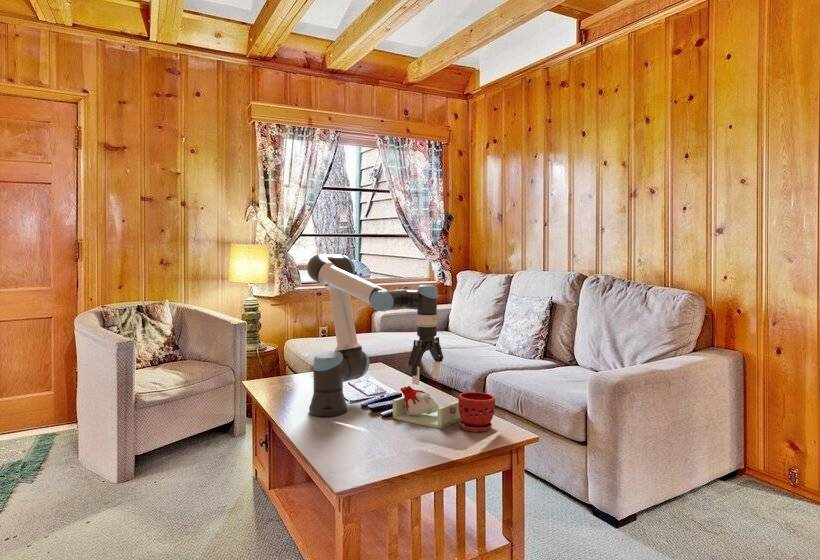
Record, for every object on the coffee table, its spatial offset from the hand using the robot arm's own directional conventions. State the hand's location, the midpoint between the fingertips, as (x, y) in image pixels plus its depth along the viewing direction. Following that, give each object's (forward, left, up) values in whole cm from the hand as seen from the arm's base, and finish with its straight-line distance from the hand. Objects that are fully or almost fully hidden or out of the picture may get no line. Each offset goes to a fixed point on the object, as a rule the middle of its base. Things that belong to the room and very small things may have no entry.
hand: (426, 381), depth 195 cm
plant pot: (+21, +1, -15) cm, 26 cm away
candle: (0, +1, -14) cm, 14 cm away
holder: (0, 0, -15) cm, 15 cm away
